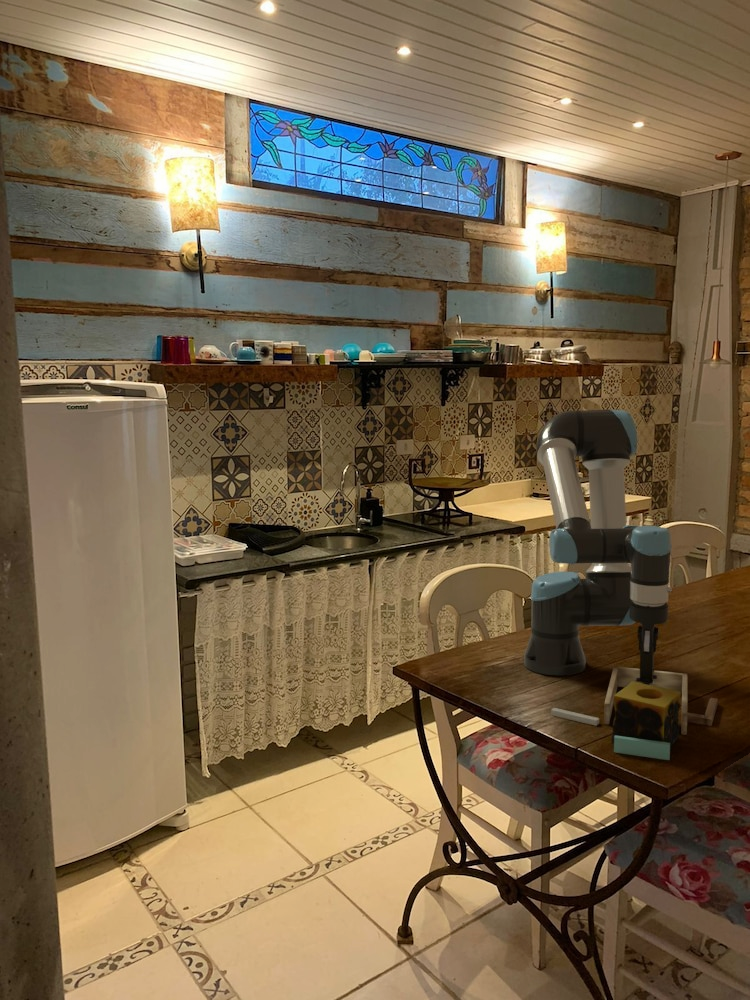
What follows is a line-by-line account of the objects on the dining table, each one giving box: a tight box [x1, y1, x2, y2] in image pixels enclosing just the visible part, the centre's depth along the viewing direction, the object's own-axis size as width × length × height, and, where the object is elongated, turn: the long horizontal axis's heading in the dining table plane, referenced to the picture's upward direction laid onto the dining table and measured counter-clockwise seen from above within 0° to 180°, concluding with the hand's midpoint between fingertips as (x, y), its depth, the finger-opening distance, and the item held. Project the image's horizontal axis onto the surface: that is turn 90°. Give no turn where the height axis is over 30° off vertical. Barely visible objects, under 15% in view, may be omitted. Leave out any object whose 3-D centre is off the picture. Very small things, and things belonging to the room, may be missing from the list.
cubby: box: [603, 666, 688, 736], centre depth 170 cm, size 16×23×4 cm
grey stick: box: [550, 707, 600, 727], centre depth 165 cm, size 2×10×2 cm, turn 55°
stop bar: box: [613, 735, 671, 761], centre depth 148 cm, size 10×1×3 cm, turn 68°
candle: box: [611, 681, 682, 748], centre depth 154 cm, size 10×10×10 cm
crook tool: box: [687, 697, 719, 727], centre depth 167 cm, size 5×12×2 cm, turn 151°
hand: (645, 709), depth 164 cm, fingers closed
